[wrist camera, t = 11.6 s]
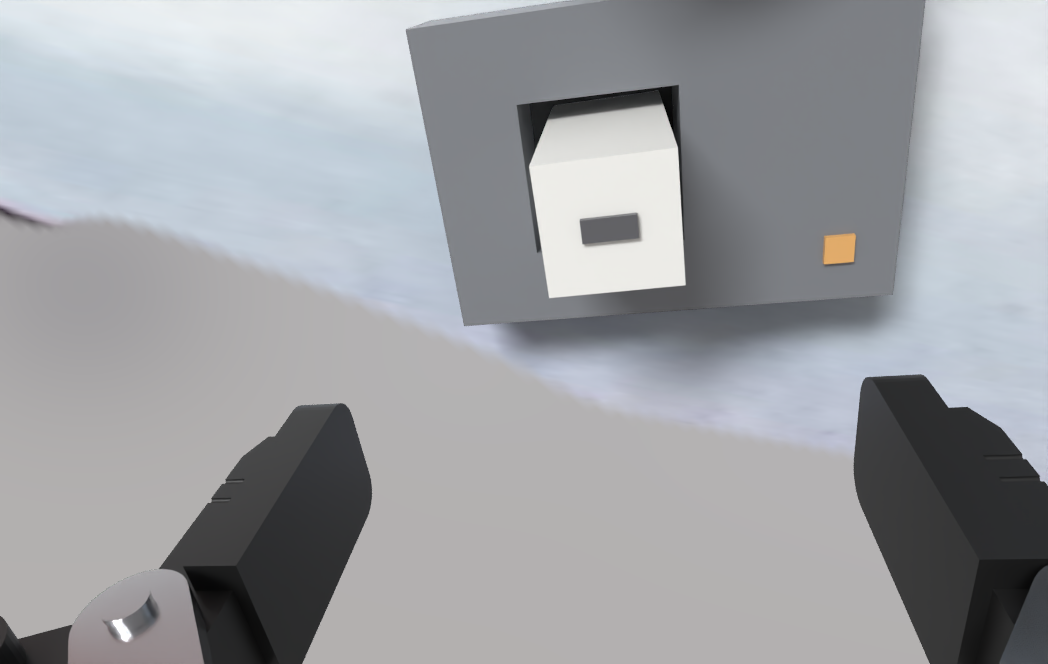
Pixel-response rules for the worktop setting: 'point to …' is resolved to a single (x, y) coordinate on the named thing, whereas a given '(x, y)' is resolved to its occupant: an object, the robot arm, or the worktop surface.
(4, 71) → the worktop surface
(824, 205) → the outlet block
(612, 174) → the block
